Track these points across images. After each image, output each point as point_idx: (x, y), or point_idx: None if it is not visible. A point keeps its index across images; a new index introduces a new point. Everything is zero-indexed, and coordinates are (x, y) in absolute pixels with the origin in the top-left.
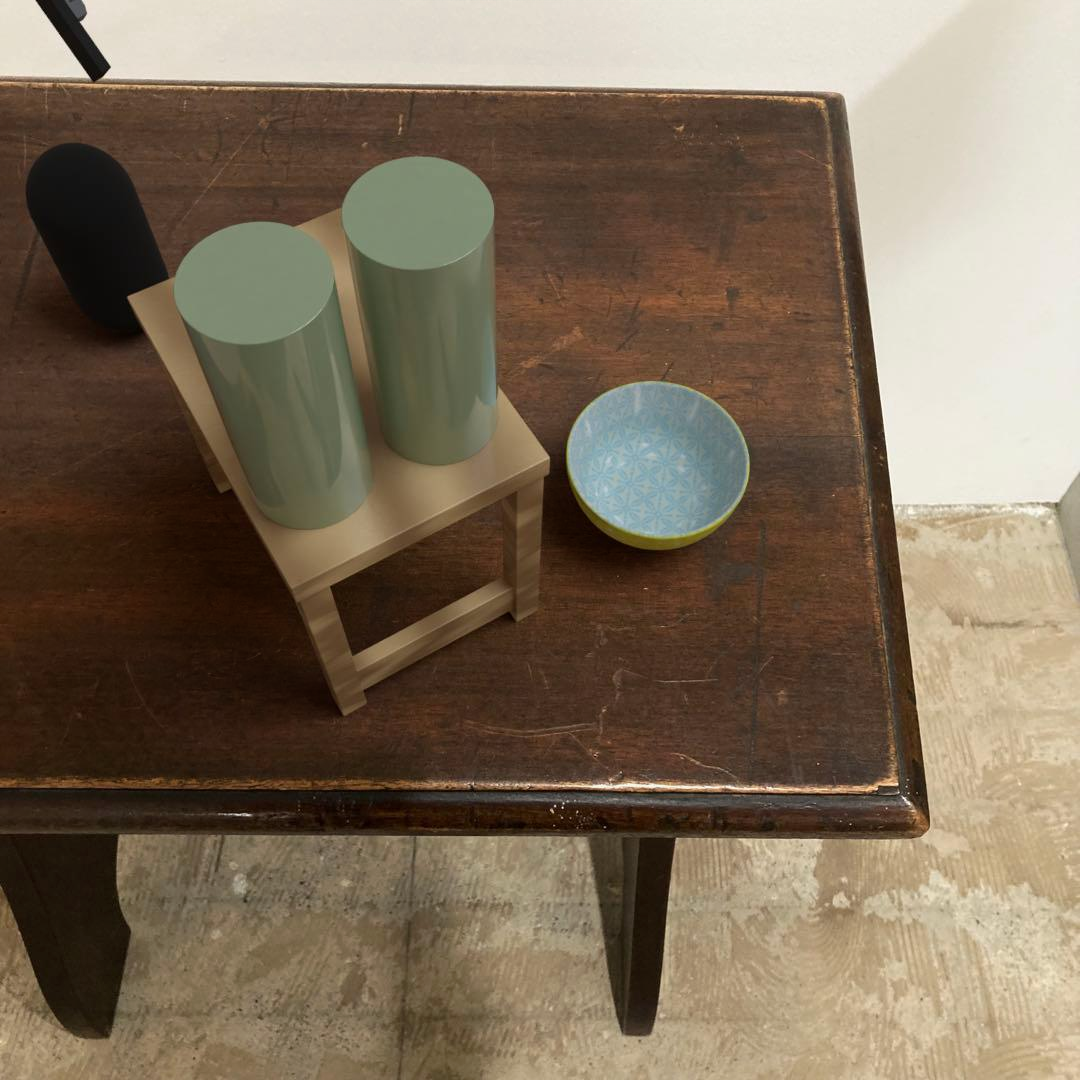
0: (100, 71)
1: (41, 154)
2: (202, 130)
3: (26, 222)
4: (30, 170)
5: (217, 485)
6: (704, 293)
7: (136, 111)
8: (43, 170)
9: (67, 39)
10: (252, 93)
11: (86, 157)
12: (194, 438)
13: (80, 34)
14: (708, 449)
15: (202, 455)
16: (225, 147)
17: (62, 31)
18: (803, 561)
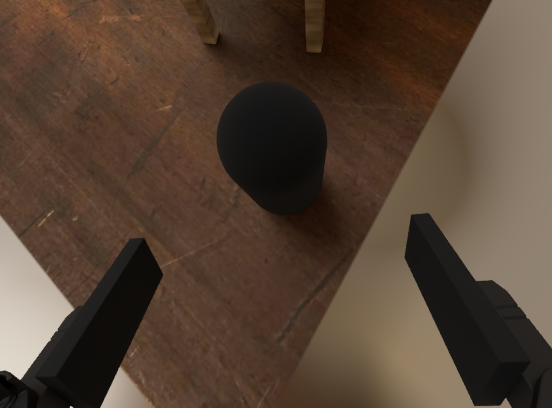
0: (143, 240)
1: (277, 155)
2: None
3: (301, 327)
4: (300, 149)
5: (323, 33)
6: (38, 3)
7: (165, 376)
8: (291, 117)
9: (134, 311)
10: None
11: (241, 105)
12: (323, 8)
13: (113, 276)
14: None
15: (323, 17)
16: None
17: (127, 319)
18: None
